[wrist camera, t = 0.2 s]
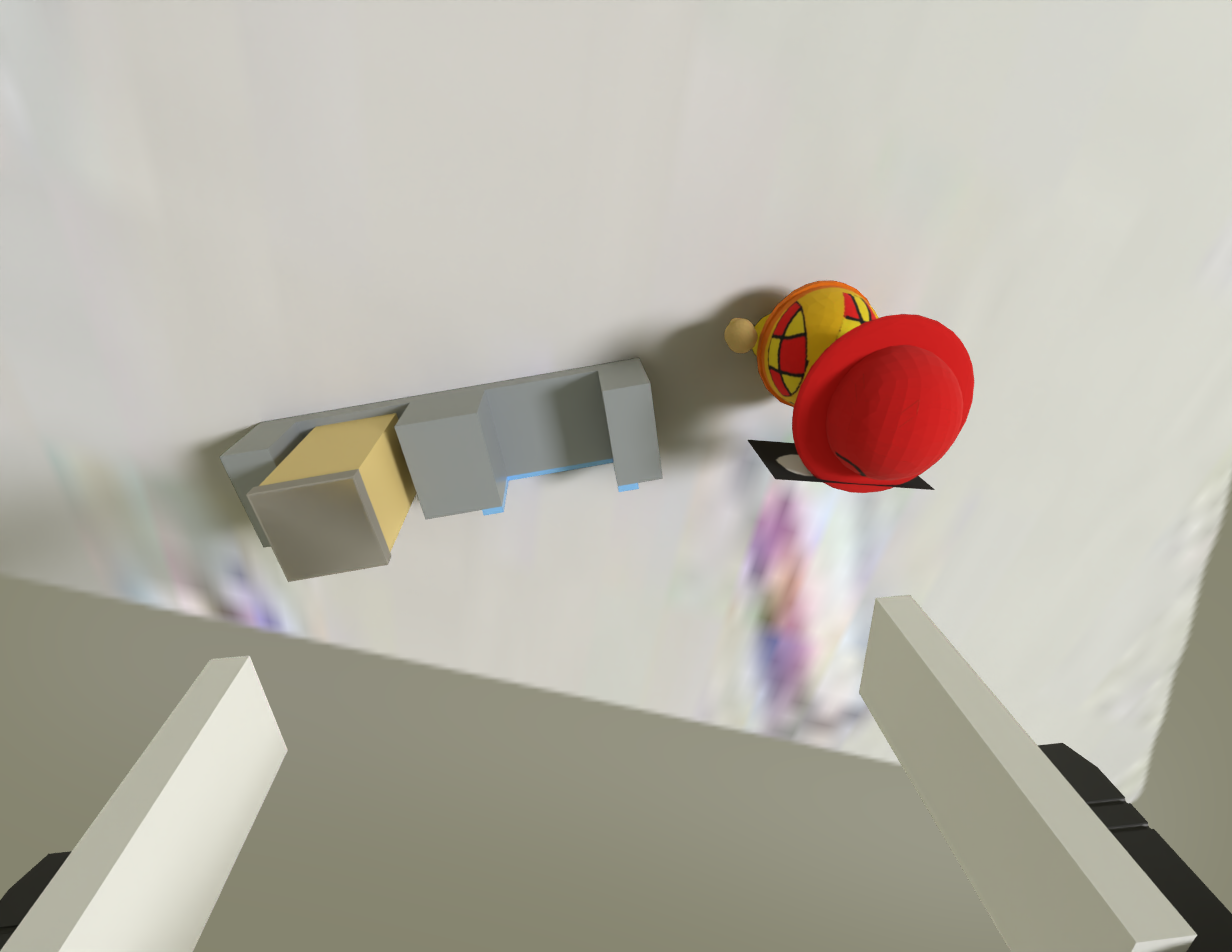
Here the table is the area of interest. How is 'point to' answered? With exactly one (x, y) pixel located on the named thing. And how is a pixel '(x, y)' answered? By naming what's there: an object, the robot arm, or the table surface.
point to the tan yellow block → (336, 499)
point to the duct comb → (488, 436)
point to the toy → (857, 388)
